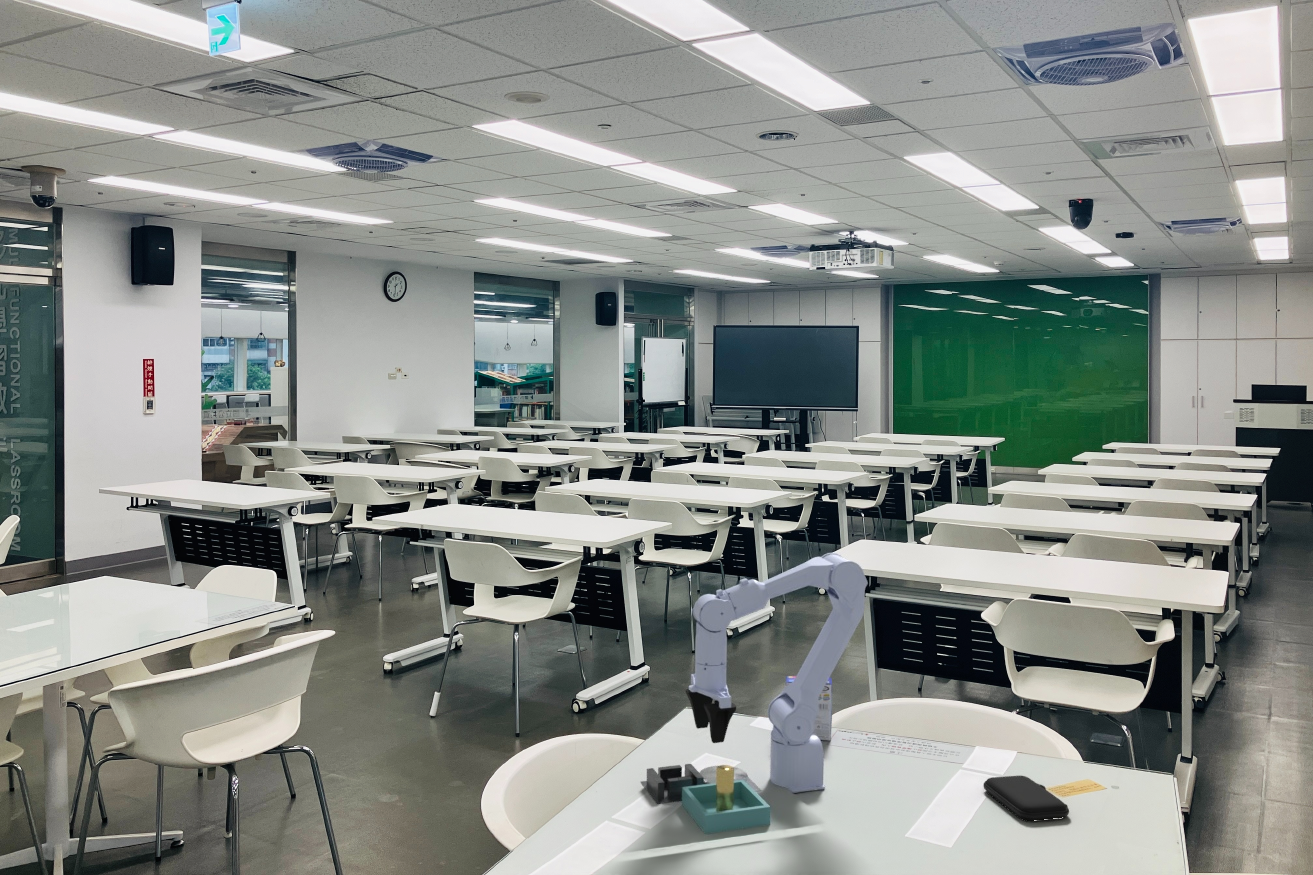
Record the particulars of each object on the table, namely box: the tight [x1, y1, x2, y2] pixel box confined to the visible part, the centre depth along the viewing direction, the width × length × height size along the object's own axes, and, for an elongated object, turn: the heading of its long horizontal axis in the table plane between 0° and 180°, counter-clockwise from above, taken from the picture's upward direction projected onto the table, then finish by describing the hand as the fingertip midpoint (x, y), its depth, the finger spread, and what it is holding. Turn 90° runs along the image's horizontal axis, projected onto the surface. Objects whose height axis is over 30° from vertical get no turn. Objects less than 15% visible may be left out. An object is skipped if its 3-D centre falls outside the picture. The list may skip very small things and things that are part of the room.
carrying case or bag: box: [983, 775, 1070, 822], centre depth 172 cm, size 11×3×15 cm
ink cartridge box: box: [785, 665, 833, 741], centre depth 204 cm, size 10×6×14 cm, turn 82°
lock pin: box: [716, 764, 734, 812], centre depth 164 cm, size 3×3×8 cm
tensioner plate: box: [640, 763, 763, 805], centre depth 176 cm, size 20×10×4 cm, turn 108°
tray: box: [681, 780, 771, 835], centre depth 164 cm, size 12×12×4 cm
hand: (709, 734), depth 176 cm, fingers open, 7 cm apart
